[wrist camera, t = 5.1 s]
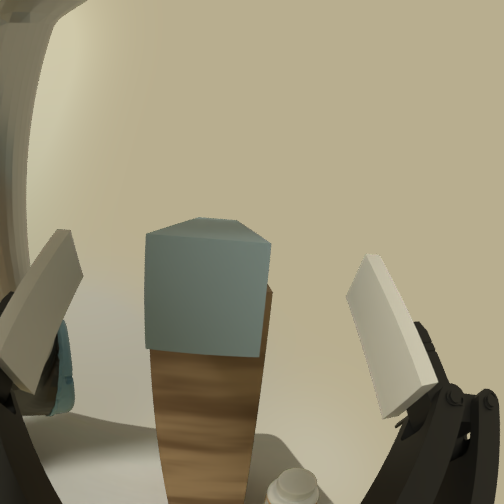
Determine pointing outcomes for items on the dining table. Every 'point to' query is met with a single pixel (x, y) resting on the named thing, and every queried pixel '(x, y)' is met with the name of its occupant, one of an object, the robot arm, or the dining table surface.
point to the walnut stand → (207, 421)
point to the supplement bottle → (293, 488)
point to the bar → (205, 288)
